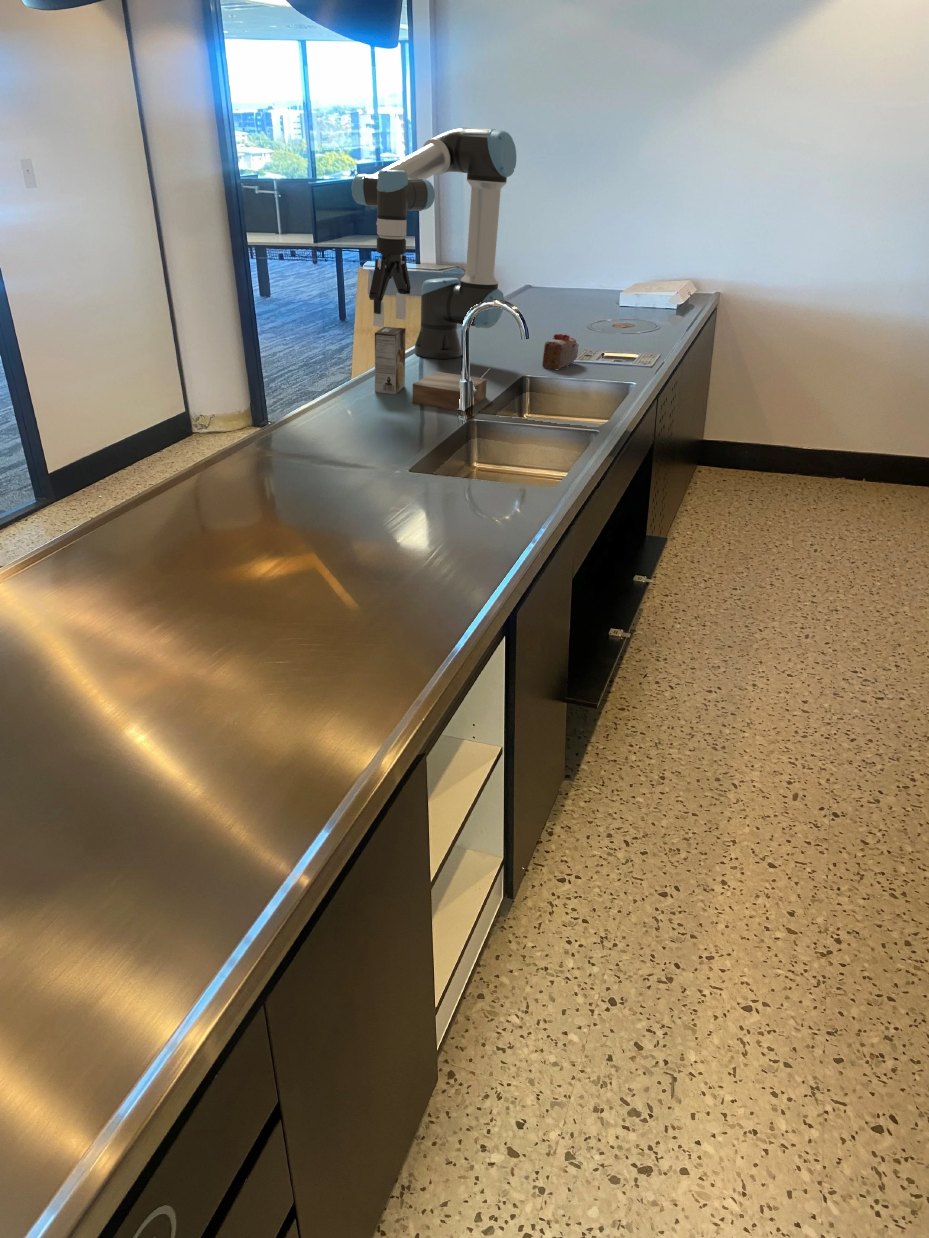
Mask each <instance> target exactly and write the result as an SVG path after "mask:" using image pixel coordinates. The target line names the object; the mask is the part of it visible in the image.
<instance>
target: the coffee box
mask: <svg viewBox="0 0 929 1238" xmlns="http://www.w3.org/2000/svg"><path fill="white" fill-rule="evenodd" d="M406 329H407V328H406V327H391V326H384V327H381V328H380V329H379V330H377V331H376V332H374V393H378V394H380V393H381V394H391V395H397V394H398V393H399V392H400V391H401V390H402V389H404V387H405V386H406V382H405V381H406V375H405V374H406Z"/></svg>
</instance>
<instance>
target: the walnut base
mask: <svg viewBox="0 0 929 1238" xmlns="http://www.w3.org/2000/svg"><path fill="white" fill-rule="evenodd" d="M461 375H462V374H455V373H448V372H442V371H435V372H433V373H432V374H430V375H427V376H426V377H423V378H422V379H419V380H418V381H416V382H413V383H412V396H411V397H412V399H411V403H412V404H416V405H417V404H418V405H424V406H429V407H434V408H443V409H449V410H454V411H458V410H457V409H458V408H459V399H460V388H459V381H460V378H461ZM470 377H471V380H472V382H473V383H474V387H475V389H477V392H476V393H475V394H474V405H473V406H475V405H477V404H478V403H479V402H481V401H482V400H484V399H486V398H487V384H488V378H482V377H481V378H480V377H475V376H470Z"/></svg>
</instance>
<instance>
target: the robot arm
mask: <svg viewBox="0 0 929 1238" xmlns="http://www.w3.org/2000/svg"><path fill="white" fill-rule="evenodd" d="M515 144H516V143H515V142H514V139H513V137H512V135H511V134H510V133H509V132H507V131H505V130H500V129H495V128H475V127H474V128H471V127H457V128H454V129H450V130H448V131H444V132H442V133H440V134H438V135H436V136H433V137H432V138H430V139H428V140H426V142H424V143H423V146H422V147H421V148H419V149H418V150H416V151H413V152H412V153H410V154H408V155H406V156H404V157H402V158H401V159H399V160H397V161H395V162H393V163H391V164H390V165H389V164H388V165H387V166H385V167H383V168H382V169H380V170H378V171H376V172H374V173H372V174H368V173H359V174H356V175H355V177H354V178H353V179H352V183H351V187H350V188H351V195H352V196H351V197H352V199H353V200H354V202H355V203H357V204H358V205H362V206H366V207H376V208H377V213H376V214H377V215H376V218H377V219H376V223H375V225H376V234H377V235H378V237H376V252H377V253H378V254H381V258H375V259H374V270H373V275H372V279H371V285H370V289H369V294H368V298H369V300H371V301H373V312H372V313H373V320H372V321H373V327H377V328H379V327H380V328H383V327H385V300H383V299H384V297H385V294H386V290H387V287H388V285H389V281H390V279H393V282H394V286H395V287H396V290H397V293H396V294H395V295H396V296H395V319H397V320H407V295H410V293H411V287H412V286H411V281H410V276H409V272H408V266H407V255H405V254H406V252H407V239H406V238H405V237H407V221H408V220H407V211H409V212H411V211H412V212H413V211H419V212H421V211H424V210H425V211H426V210H427V209H430V208H431V206H433V204H434V201H435V197H436V192H435V191H436V190H435V188H434V186H433V184H432V183H431V182H430V181H429V180H428V178H430V177H432V176H434V175H436V176H441V175H444V174H446V173H463V174H466V181H467V182H468V184H469V185H470V187H471V188H470V189H471V190H470V192H471V193H470V205H469V206H470V209H469V223H468V234H467V235H468V236H467V237H468V238H467V252H466V264H465V265H466V266H465V274H464V276H462V277H461V278H460V279H459V278H457V277H439V278H431V279H430V278H429V279H427V280H424V281H423V282H422V285H421V293H420V296H421V297H420V299H421V300H420V329H419V331H418V335H417V337H416V341H415V345H414V354H415V355H417V356H420V357H424V358H427V359H428V358H430V359H436V360H437V359H439V360H440V359H441V360H445V359H448V360H449V359H455V358H458V357H460V356H462V346H461V342H460V339H459V334H458V330H457V329H458V325H463V320H464V317H465V316H466V314H467V312H468V311H469V310H470V308H471V307H473V306H474V305H476V304H479V303H480V302H483V301H486V300H493V299H497V300H503V301H504V302H505V296H504V293H503V291H502V290H500V289H499V281H498V280H497V279H496V277H495V276H494V275H495V268H496V267H495V265H496V254H497V252H496V251H497V241H498V240H497V239H498V226H499V216H500V215H499V214H500V204H501V203H500V202H501V190H502V189H503V188H504V187H505V186H506V185H507V179H508V177H510V176H512V175H513V174H514V173H515V169H516V165H517V149H516V145H515ZM503 311H504V308H503V309H500V308H493V309H488V310H484V311H481V312H480V313H478V314H477V315H476V317H474V319H473V322H472V324H471V326H470V327H475V328H477V329H479V328H483V329H490V328H493V326H495V325H496V324H497V323H498V321H499V319H500V318H501V316H502V314H503Z"/></svg>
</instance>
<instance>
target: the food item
mask: <svg viewBox="0 0 929 1238" xmlns="http://www.w3.org/2000/svg"><path fill="white" fill-rule="evenodd" d="M578 353H579V344H578V343H577V340H576V339H575V338H574V337H572V336H570V335H568V334H562V333H559V334H558V333H555V334H554V335H553V337H552V339H550V340H548V341H545V342H544V348H543V356H542V364H541V365H542V368H545V369H549V368H550V370H555V369H559V370H560V369H562V368H565V367H564V366H568V365H569V364H570V365H572V364H573V363H574V361H576V360H577V358H578ZM572 362H573V363H572ZM570 365H569V366H570ZM569 366H568V367H569ZM561 367H562V368H561Z"/></svg>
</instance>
